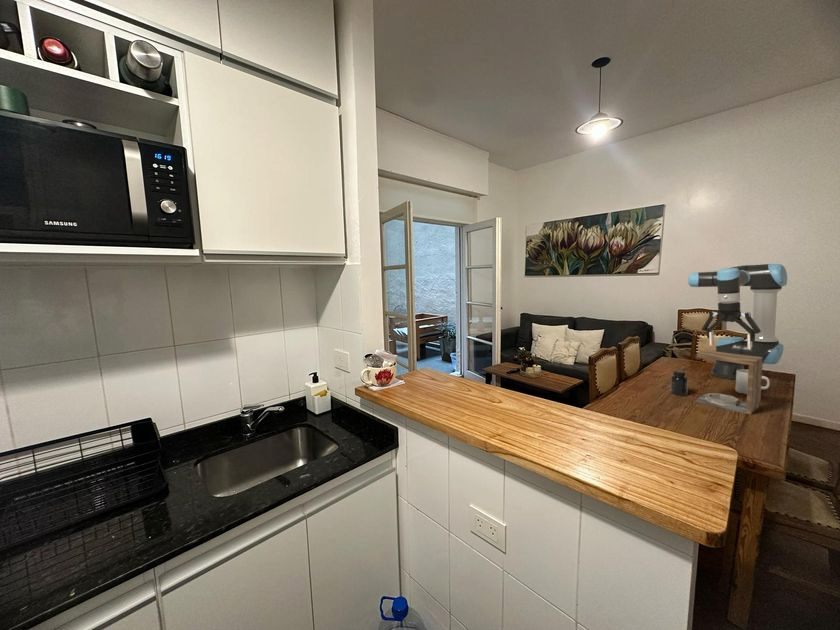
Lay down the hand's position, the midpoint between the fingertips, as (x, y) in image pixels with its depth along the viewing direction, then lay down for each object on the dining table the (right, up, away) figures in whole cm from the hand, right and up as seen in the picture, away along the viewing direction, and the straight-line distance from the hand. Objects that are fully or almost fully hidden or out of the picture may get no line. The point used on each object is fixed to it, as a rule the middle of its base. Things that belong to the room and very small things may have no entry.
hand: (730, 346), depth 153 cm
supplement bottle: (-12, -26, +15) cm, 33 cm away
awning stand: (-2, -27, 0) cm, 27 cm away
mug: (+22, -25, +12) cm, 36 cm away
